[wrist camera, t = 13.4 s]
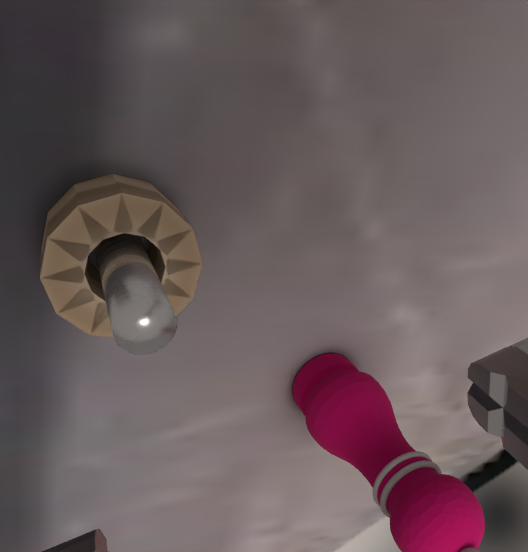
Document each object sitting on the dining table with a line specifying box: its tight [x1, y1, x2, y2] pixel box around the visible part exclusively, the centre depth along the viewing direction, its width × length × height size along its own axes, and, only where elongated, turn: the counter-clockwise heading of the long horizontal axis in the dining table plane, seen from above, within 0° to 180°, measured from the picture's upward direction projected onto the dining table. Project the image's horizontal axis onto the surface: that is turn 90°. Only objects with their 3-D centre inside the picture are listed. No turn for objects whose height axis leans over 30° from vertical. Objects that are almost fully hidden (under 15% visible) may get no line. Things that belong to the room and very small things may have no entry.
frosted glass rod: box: [94, 233, 177, 354], centre depth 28 cm, size 3×3×12 cm
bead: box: [40, 174, 203, 337], centre depth 31 cm, size 9×9×5 cm
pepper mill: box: [292, 353, 485, 552], centre depth 37 cm, size 7×7×20 cm
